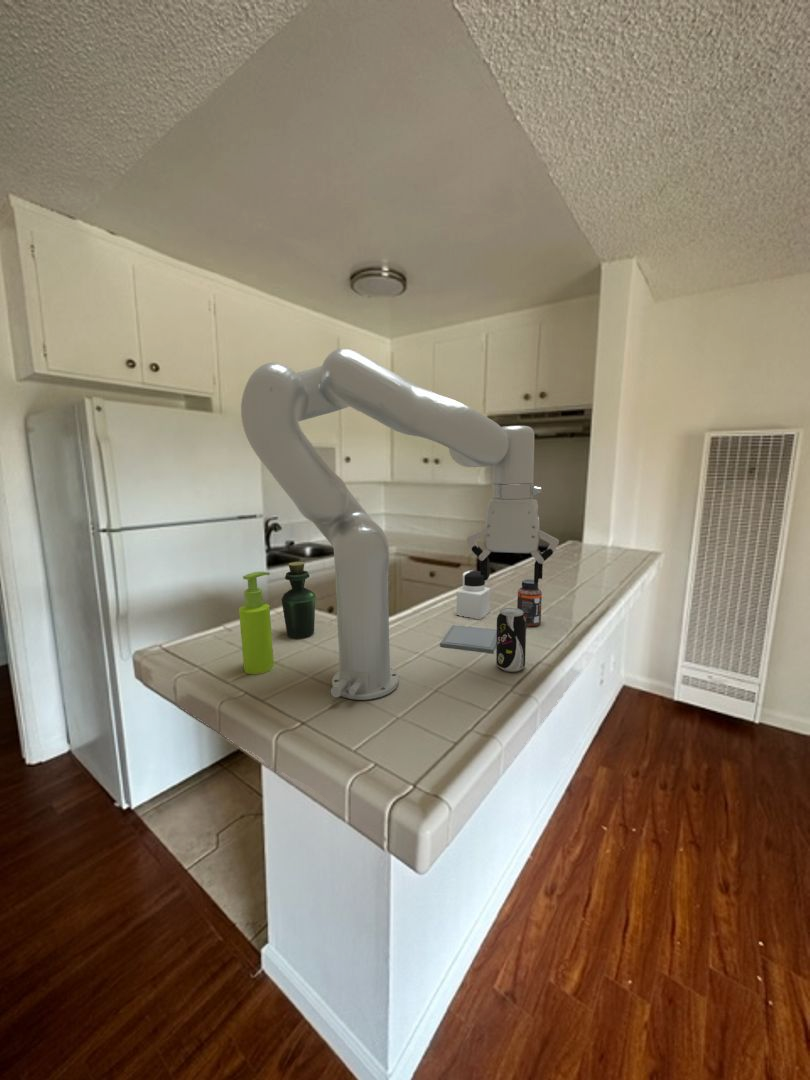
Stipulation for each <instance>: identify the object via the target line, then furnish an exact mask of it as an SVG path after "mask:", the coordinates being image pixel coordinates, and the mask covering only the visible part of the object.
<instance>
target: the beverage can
mask: <svg viewBox="0 0 810 1080" xmlns="http://www.w3.org/2000/svg"><path fill="white" fill-rule="evenodd" d="M496 630H497V639H496V647H495V649H496V650H495V651H496V652H495V664H496V666H497V667H498V668H499V669H501V670H502V671H505V672H508V673H509V672H510V673H517V672H520V670H523V669H524V668H525V667H526V646H527V644H526V642H527V626H526V618H525V616H524V615H523V611H522V610H520V609H517V607H503V608H501V609H500V610H499V614H497V617H496Z"/></svg>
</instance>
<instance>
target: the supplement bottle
mask: <svg viewBox="0 0 810 1080" xmlns="http://www.w3.org/2000/svg"><path fill="white" fill-rule="evenodd" d="M542 595H543V593H542V591H541V589H540V588H539V583H538V584H535V583H534V579H526V578H525V579H522V580H521V587H520V588H519V589H518V590H517V598H516V599H517V603H516V604H517V607H516V608H517V609H520V610H522V611H523V615H524V616H525V618H526V627H531V628H532V627H538V626H539V625H541V621H542V598H543V597H542Z"/></svg>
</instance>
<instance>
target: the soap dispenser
mask: <svg viewBox="0 0 810 1080" xmlns="http://www.w3.org/2000/svg"><path fill="white" fill-rule="evenodd" d="M270 574H271V572H267V571H254V572H250V573H248V574H245V575H243V576H242V579H243V580H247V589H246V590H244V592H243V593H244V594H243V596H244V603H245V604H244V605H242V606H240V607H239V609H238V615H239V626H240V627H239V628H240V636H241V650H242V660H243V661H242V663H243V671H244V672H245V673H246V674H249V675H260V674H263V673H264V674H265V673H267V672H269V671H271V670H272V669H273V668H274V666H275V663H274V649H273V638H272V637H273V635H272V622H271V609H270V604H268V603H264V601H263V590H262V589H261V588H259V587H258V581H257V580H258V579H257V578H258V577H262V576H269V575H270Z"/></svg>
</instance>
